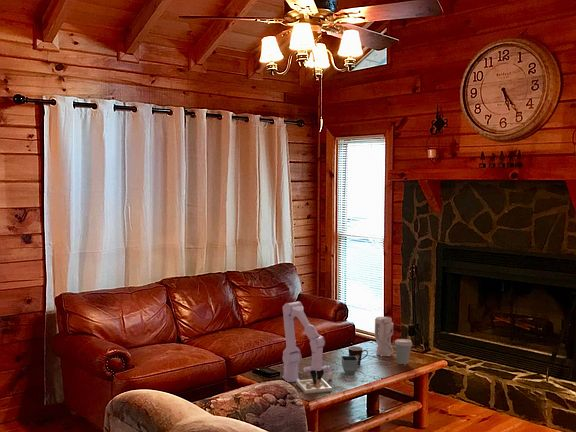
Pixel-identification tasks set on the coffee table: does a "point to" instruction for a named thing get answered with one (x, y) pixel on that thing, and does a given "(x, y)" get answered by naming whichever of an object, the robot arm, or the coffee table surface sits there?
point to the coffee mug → (356, 352)
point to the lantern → (383, 335)
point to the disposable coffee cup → (403, 350)
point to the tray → (309, 390)
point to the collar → (311, 385)
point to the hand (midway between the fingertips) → (316, 383)
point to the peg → (330, 377)
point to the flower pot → (349, 364)
